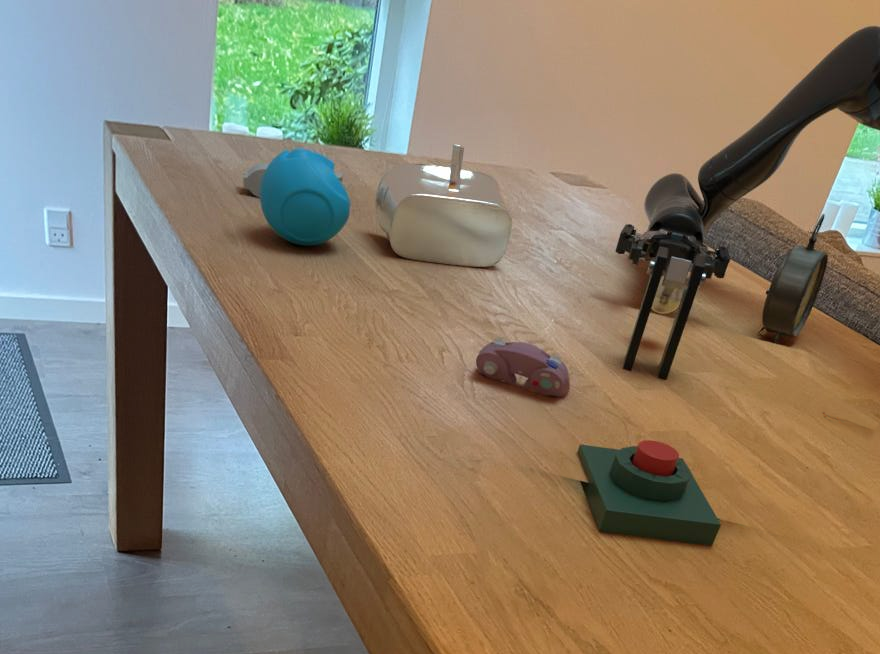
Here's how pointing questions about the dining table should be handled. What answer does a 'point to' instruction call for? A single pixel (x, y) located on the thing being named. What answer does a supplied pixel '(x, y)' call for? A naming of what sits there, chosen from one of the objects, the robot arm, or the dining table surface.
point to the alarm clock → (794, 289)
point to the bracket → (681, 317)
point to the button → (655, 458)
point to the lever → (671, 286)
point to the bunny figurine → (255, 176)
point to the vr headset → (444, 213)
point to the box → (645, 499)
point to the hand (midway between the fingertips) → (670, 264)
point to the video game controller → (524, 367)
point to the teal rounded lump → (303, 197)
